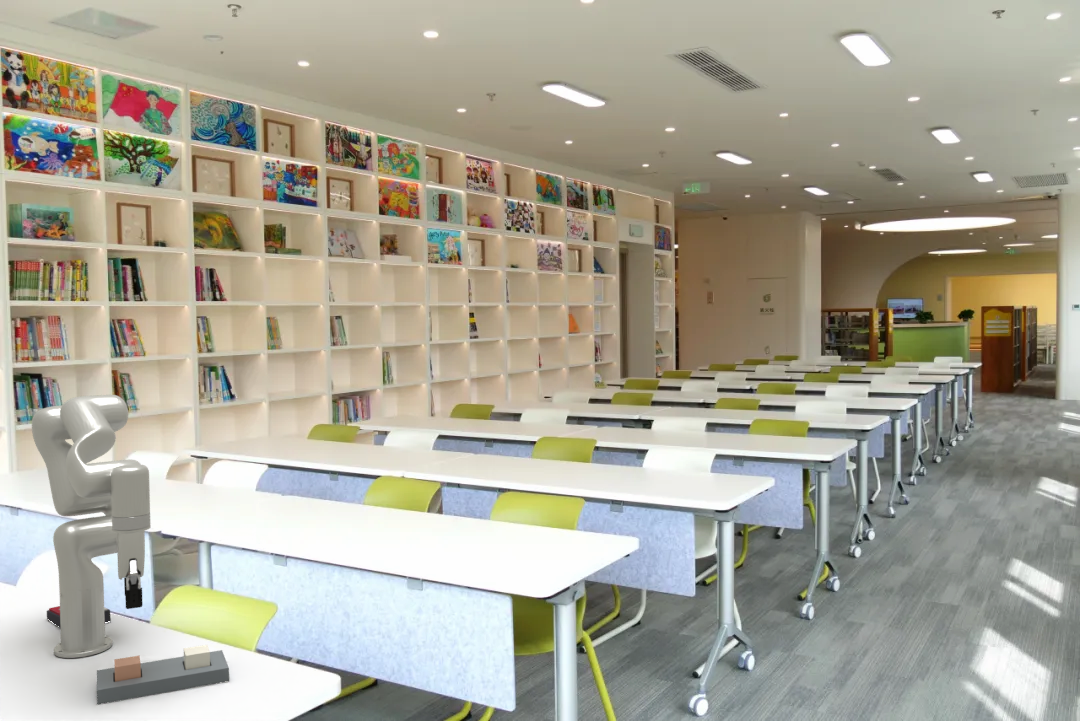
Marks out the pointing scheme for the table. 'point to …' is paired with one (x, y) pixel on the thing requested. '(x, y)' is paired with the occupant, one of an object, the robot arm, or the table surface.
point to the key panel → (161, 678)
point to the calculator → (54, 615)
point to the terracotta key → (127, 668)
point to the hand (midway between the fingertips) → (133, 601)
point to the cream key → (196, 657)
